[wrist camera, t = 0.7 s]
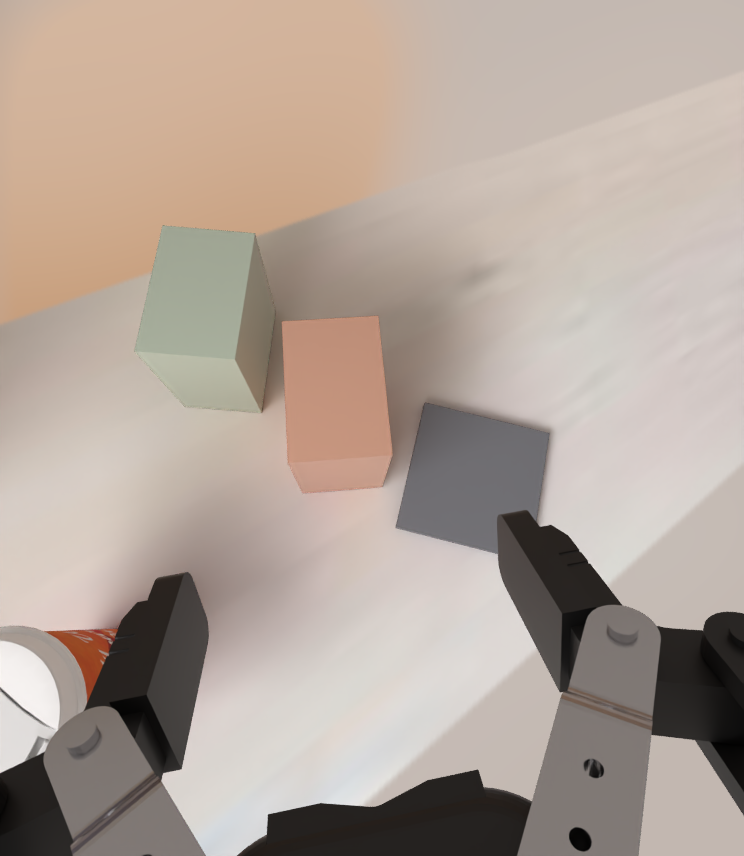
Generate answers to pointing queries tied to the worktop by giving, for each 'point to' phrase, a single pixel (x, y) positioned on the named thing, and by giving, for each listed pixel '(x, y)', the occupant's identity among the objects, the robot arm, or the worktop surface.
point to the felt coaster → (470, 476)
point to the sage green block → (208, 319)
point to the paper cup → (44, 684)
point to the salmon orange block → (336, 403)
